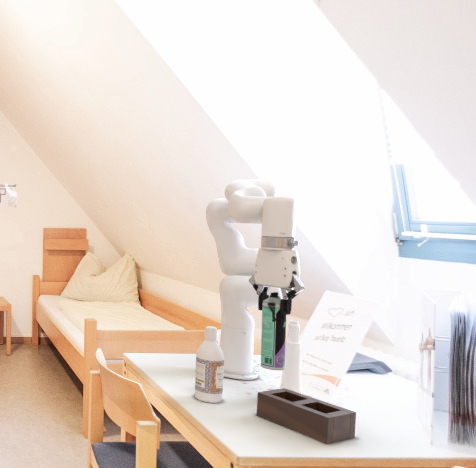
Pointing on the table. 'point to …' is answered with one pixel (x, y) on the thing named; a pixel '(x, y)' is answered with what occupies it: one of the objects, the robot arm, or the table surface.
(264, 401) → the rack
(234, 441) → the table surface
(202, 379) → the bath foam
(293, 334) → the cosmetic bottle
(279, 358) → the spray can
